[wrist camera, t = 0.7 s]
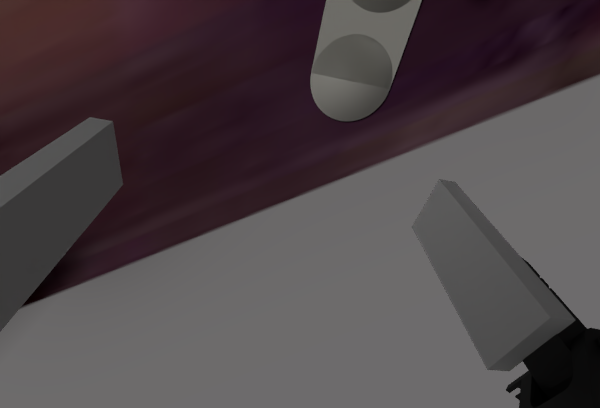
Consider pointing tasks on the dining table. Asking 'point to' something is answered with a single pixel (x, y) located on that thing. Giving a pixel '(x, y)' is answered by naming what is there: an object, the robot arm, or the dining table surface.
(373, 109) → the pad
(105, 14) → the dining table surface
